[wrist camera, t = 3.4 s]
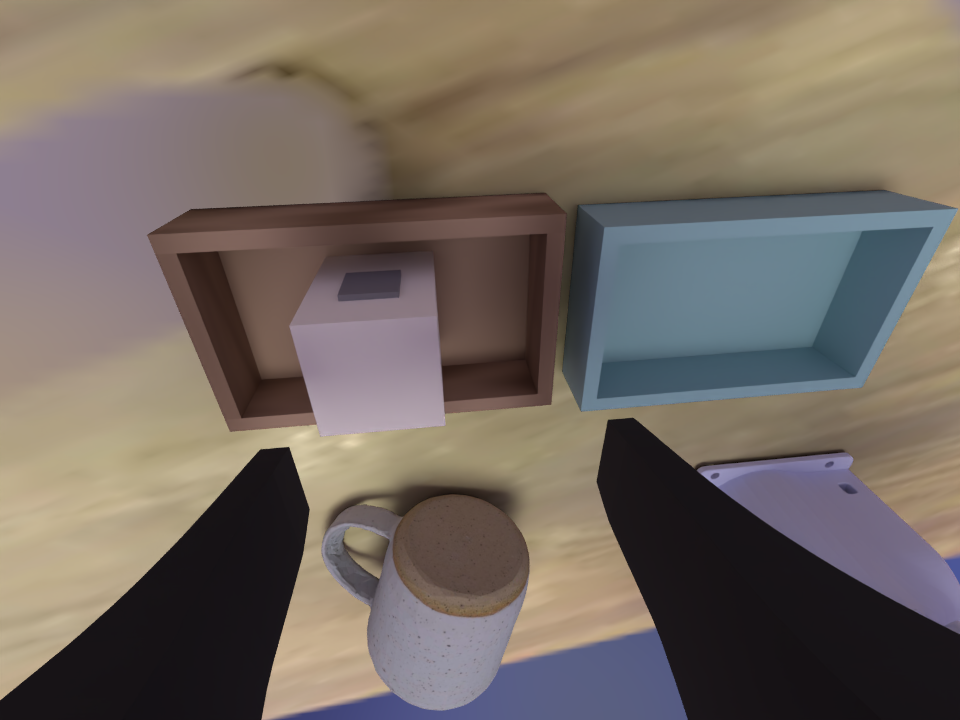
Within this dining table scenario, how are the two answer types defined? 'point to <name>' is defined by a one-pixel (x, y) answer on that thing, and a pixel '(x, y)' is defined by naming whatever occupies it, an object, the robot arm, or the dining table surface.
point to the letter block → (372, 344)
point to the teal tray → (740, 294)
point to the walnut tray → (363, 231)
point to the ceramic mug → (436, 594)
